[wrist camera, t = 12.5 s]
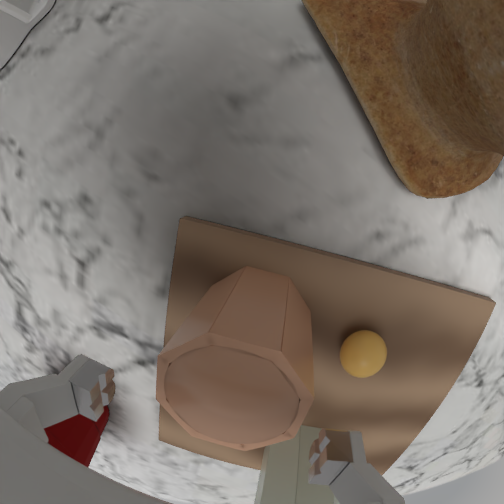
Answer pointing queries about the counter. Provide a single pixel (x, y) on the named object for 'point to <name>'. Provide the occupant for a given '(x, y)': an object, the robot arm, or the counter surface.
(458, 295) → the walnut board
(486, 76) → the stone cup
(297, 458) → the sage cup
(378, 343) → the amber marble
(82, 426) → the plastic cup
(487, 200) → the counter surface
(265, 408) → the terracotta cup
